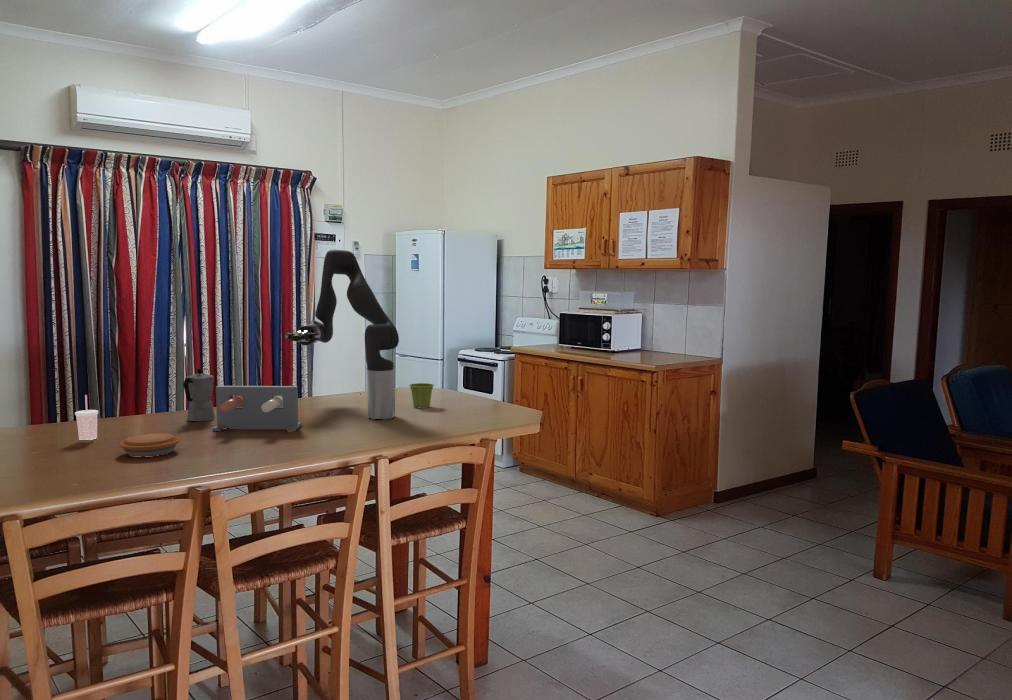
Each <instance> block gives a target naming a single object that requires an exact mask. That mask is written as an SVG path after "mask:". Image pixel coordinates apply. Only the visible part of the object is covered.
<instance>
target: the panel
mask: <svg viewBox="0 0 1012 700" xmlns="http://www.w3.org/2000/svg"><path fill="white" fill-rule="evenodd" d="M298 392H299V391H298V386H297V385H295V386H294V385H217V386H215V401H216V402H215V403H216V404H215V405H216V426H213V427H211V428H212V429H211V432H212V431H219V430H221V429H223V428H226V429H225V430H286V431H288V432H287V433H294V432H296V431H297V430H298V429H300V428H301V427H302V425H303V422H302V421H299V396H298V395H299V393H298ZM235 395H243V407H236V408H233V409H231V410H229V411H227V412H222V411H221V410H220V405H221V404H222V403H224V402H226V401H228V400H231V399H233V398H232V397H233V396H235ZM273 396H283V407H276V408H275V409H273V410H271V411H269V412H263V411H262V409H261V406H262V405H263V404H264V403H266V402H268V401H270V400H271V399H272V397H273ZM300 426H301V427H300ZM299 427H300V428H299ZM227 428H229V429H227ZM297 428H298V429H297ZM296 429H297V430H296ZM223 430H224V429H223ZM221 431H222V430H221ZM293 431H294V432H293ZM219 432H220V431H219Z"/></svg>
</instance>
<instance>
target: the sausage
mask: <svg viewBox="0 0 1012 700" xmlns="http://www.w3.org/2000/svg"><path fill="white" fill-rule="evenodd" d="M233 408H243V395H233V398H232V399H231V400H228V401H226V402H224V403H222V404H221V405H220V410H221V411H222V412H227V411H229V410H231V409H233Z"/></svg>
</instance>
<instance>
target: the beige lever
mask: <svg viewBox="0 0 1012 700" xmlns="http://www.w3.org/2000/svg"><path fill="white" fill-rule="evenodd" d="M275 408H283V396H272V398H271V400H270V401H268V402H266V403H264V404H263V405H262V406H261V409H262V411H263V412H269V411H271V410H273V409H275Z"/></svg>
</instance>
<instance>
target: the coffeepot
mask: <svg viewBox="0 0 1012 700" xmlns="http://www.w3.org/2000/svg"><path fill="white" fill-rule="evenodd" d="M196 371H197V373H195V374H192V375H191V374H190V375H188V376H186V377H185V378H184V381H183V383H182V384H183V385H182V386H183V389H184V393H185V397H186V399H187V402H189V403H188V410H187V418H186V421H188V420H189V421H188V422H190V421H205V422H207V421H206V420H211V419H214V418H216V414H215V411H214V405H213V401H212V395H213V389H214V379H215V376H214V375H212V374H207V373H206V374H205V373H202V372H203V368H197V369H196ZM214 420H215V419H214ZM211 421H212V420H211Z"/></svg>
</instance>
